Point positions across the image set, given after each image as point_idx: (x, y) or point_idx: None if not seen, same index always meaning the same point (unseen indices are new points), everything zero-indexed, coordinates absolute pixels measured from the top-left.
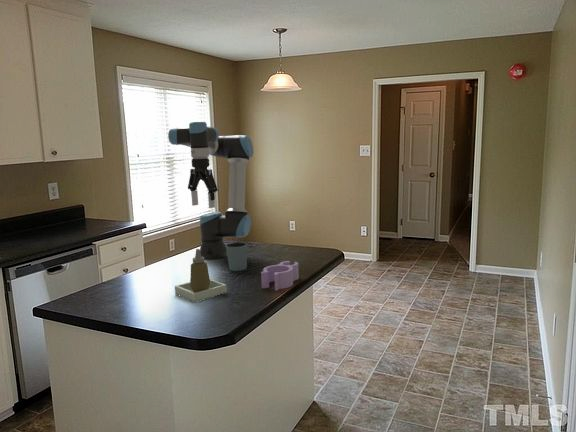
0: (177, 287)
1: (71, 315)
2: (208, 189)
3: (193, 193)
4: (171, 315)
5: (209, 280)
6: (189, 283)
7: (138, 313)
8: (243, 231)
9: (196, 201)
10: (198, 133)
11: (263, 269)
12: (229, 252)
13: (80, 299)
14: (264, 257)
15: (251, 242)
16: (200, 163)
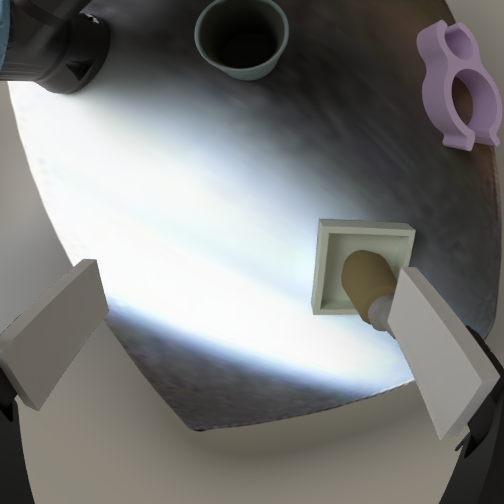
0: (326, 314)
1: (259, 423)
2: (464, 473)
3: (44, 378)
4: (395, 351)
5: (388, 264)
6: (323, 280)
7: (339, 378)
8: None
9: (82, 295)
10: None
11: (455, 123)
12: (248, 73)
13: (193, 400)
14: None
15: None
16: None
